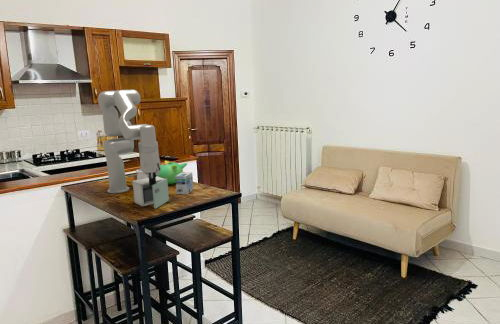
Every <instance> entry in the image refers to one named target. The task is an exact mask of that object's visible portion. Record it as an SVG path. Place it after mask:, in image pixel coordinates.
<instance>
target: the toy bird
mask: <svg viewBox="0 0 500 324" xmlns="http://www.w3.org/2000/svg"><path fill="white" fill-rule="evenodd" d="M187 165H188V162H183V163H181V164H179V163H177V162H174V161H169V160H164V162H163V163H162V164H160V166H161V170H160V174H158V175H157V176H158V177H161V178H164V179H167V182H168V185H174V184H176V178H175V176H177V175H178V174H180V173H181V172H184V170H183V169H184V168H185V167H186V166H187Z"/></svg>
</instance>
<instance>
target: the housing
mask: <svg viewBox="0 0 500 324" xmlns="http://www.w3.org/2000/svg"><path fill="white" fill-rule="evenodd" d="M162 180H164V178H161V177H158V176H156V183H158V182H160V181H162ZM132 189H133V192H132V193H133V201H134V203H135V204H137V205H139V206H140V207H146V206H150V205H154V200H153V189H152V186H150V185H149V178H145V179H139V180H137V179H136V180H132Z"/></svg>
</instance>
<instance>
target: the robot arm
mask: <svg viewBox="0 0 500 324" xmlns="http://www.w3.org/2000/svg"><path fill="white" fill-rule="evenodd" d="M97 100H98V101H97V102H98V105H99V108H100V110H101V113H102V120H103V121H102V123H103V130H104V134H105V136H106V137H107V138H108V137H110V138H109V139H107V140H105V141H103V144H102V149H103V152H104V155H105V160H106V167H107V168H106V169H107V175H108V184H109V188H108V189H107V191H106V192H107V193H108V194H121V193H125V192H128V191H130V186H127V181H126V179H127V178H126V173H125V172H126V171H125V163H124V160H123V158H122V157H121V156H120V155H124V154H129V153H132V152H133V151H134V149H135V141H136V140H140V142H141V150H142V153H141V158H140V157H139V164H140V163H141V166H140V169H141V171H142V172H144V173H145V174H147V176H148V178H149V185H150V186H152V185H154V184H156V176H157V175H158V174H160V170H161V166H160V165H161V160H160V154H159V155H158V152H159V151H158V152H157V146H156V141H157V138H156V137H157V136H156V127H155V126H154V125H153V124H147V123H141V124H132V122H131V121H130V120H131V119H133V118H135V117H136V115H137V113H138V108H137V107H136V105H139V104H140V103H141V95H140V93H139V92H138V91H137V90H136V89H120V90H105V91H101V92H100V93H99V94H98V98H97ZM117 109H118V110H117ZM119 113H120V116H119ZM111 137H114V138H111ZM116 137H117V138H116ZM134 140H135V141H134ZM153 173H154V174H153Z"/></svg>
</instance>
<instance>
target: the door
mask: <svg viewBox="0 0 500 324" xmlns="http://www.w3.org/2000/svg"><path fill="white" fill-rule="evenodd" d="M152 189H153V200H154V204H153V208H154V209H157V208H159V207H160V206H162V205H163V204H166V203H167V202H169V201H170V197H169V196H170V195H169V184H168V182H167V179H164V180H162V181H160V182H158V183H156V184H154V185H152Z"/></svg>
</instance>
